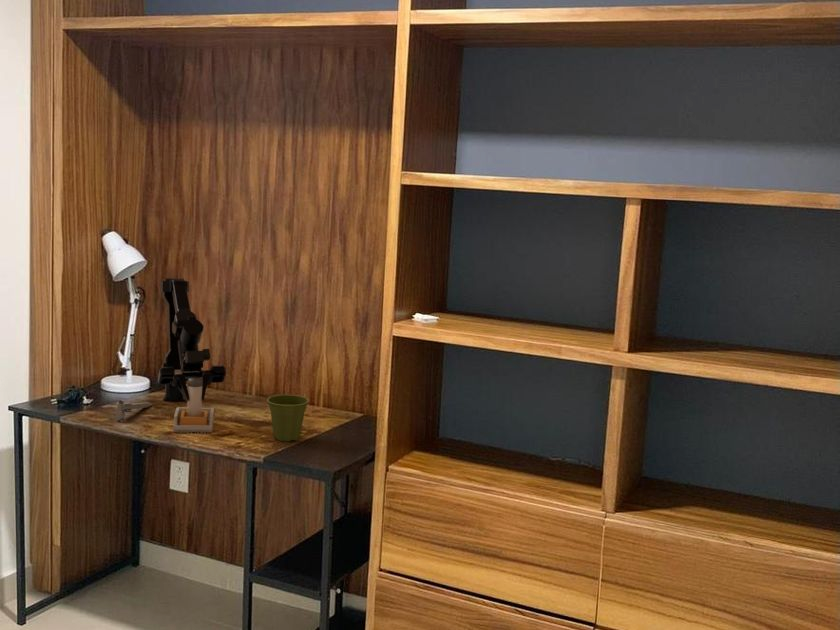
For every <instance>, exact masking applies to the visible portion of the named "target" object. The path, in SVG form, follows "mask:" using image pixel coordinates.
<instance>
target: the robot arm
mask: <svg viewBox="0 0 840 630" xmlns="http://www.w3.org/2000/svg"><path fill="white" fill-rule="evenodd" d="M159 292H160V293H161V295H162V296H161V298H162V300H163V301H164V303H165V304H166V305H167V334H168V335H167V338H168V351H167V352H166V354H165V357H164V358H163V363H162V364H161V367H160V368H159V369H158V370H159V371H158V373H157V382H158V383H157V384H158V385H160V386H163V385H164V386H165V393H164V396H163V397H162V400H163V401H167V402H168V401H169V402H170V401H176V402H178V401H180V402H183V401H185V400H186V402H187V401H189V394H188V385H187V382H188V378H190V377H200V378H202V401H204V400H205V396H206V391H207V387H208V386H211V384H215V383H216V384H218V383H223V382H224V380H225V377H226V374H227V369H226V367H225V366H224V365H223V364H222V365H219V364H217V365H216V364H215V365H211V366H210V369H209V370H205V369H203V368H204V367H205V366H204V363H205V361H206V362H207V361H209V360H210V359H211V351H210V348H202V350H200V348H199V343H200V341H201V338H202V335H203V332H204V325H203V323H202V322H201V321H200V320H198V319H197V315H196V314H195V313H194V312H192V311H191V306H190V300H189V295H188V293H190V281H188V280H185V279H184V278H175V277H174V278H173V277H172V278H171V277H169V278H167V277H164V279H163V280H161V281H160V283H159ZM202 369H203V370H202ZM186 381H187V382H186Z"/></svg>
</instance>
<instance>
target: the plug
mask: <svg viewBox="0 0 840 630" xmlns="http://www.w3.org/2000/svg"><path fill="white" fill-rule="evenodd" d="M187 390H188V394H189V401H187V400H186V404H187V406H186V407H187V417H201V412H202V408H203V407H202V406H203V405H202V404H203V402H202V401H203V400H202V378H200V377H190V378H188V381H187Z"/></svg>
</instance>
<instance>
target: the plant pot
mask: <svg viewBox="0 0 840 630" xmlns="http://www.w3.org/2000/svg"><path fill="white" fill-rule="evenodd" d="M266 402H267V403H268V407H269V411H270V418H271V423H272V424H271V425H272V432H273V438H274V439H276V440H277V441H280V442H291V441H297V440H299V439H300V436H301V431H302V426H303V421H304V418H305V417H304V416H305V412H306V410H307V407H308V406H307V405H308V403H309V402H310V399H309V398H308V397H306V396H303V395H297V394H277V395H276V394H275V395H272V396H269V397H268V398H267V399H266Z"/></svg>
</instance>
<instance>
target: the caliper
mask: <svg viewBox="0 0 840 630" xmlns="http://www.w3.org/2000/svg"><path fill="white" fill-rule="evenodd" d="M116 406H117V407H116V416H115V417H116V421H117V422H121V421H123V419H124V420H125V414H126V413H131V412H132V410H139V409H146V408H149V407H151V406H153V403H151V402H140V403H139V402H138V403H137V402H136V403H132V402H125V400H124V399H120V400H118V404H117V405H116Z"/></svg>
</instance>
